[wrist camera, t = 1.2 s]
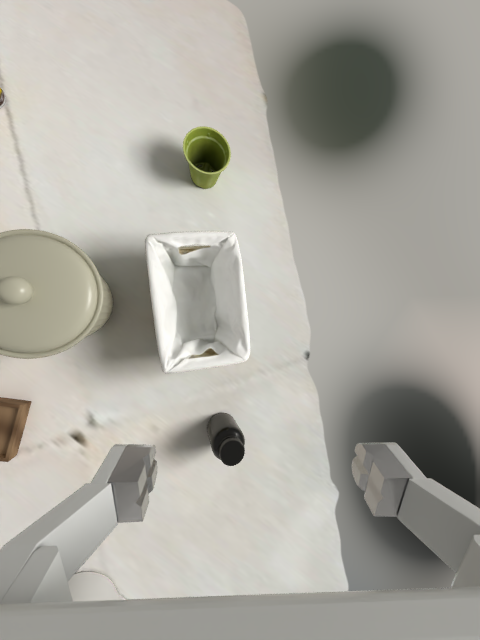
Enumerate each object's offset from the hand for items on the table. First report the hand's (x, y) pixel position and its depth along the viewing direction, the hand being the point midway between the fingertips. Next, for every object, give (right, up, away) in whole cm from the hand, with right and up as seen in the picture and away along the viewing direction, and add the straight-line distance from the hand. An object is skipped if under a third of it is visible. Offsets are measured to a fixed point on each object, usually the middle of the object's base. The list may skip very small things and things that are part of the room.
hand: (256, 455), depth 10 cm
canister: (-34, +9, +40) cm, 53 cm away
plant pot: (-9, +39, +46) cm, 61 cm away
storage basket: (-11, +9, +46) cm, 48 cm away
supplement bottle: (-5, -19, +46) cm, 50 cm away
